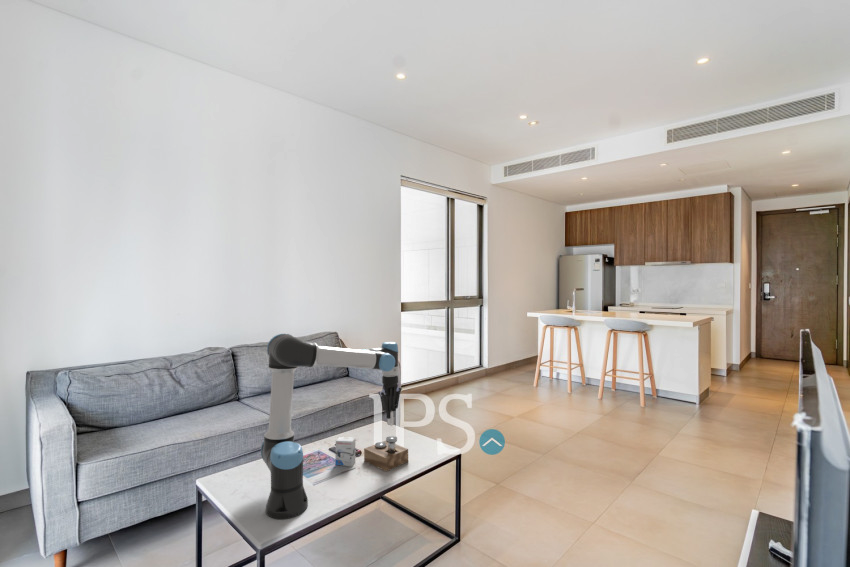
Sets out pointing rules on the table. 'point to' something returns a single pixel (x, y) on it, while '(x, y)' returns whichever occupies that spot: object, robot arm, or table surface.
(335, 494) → the table surface
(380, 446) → the peg far
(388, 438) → the peg near
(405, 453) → the socket block
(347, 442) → the ink box
